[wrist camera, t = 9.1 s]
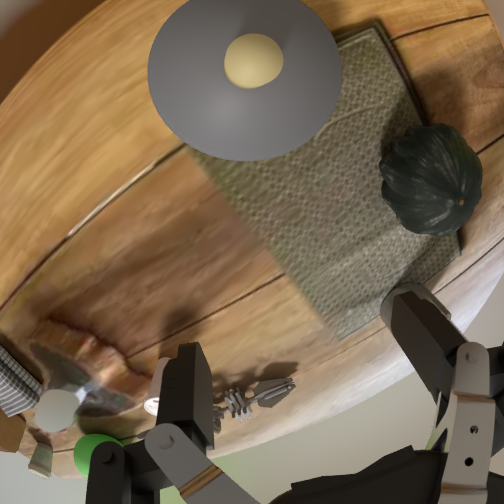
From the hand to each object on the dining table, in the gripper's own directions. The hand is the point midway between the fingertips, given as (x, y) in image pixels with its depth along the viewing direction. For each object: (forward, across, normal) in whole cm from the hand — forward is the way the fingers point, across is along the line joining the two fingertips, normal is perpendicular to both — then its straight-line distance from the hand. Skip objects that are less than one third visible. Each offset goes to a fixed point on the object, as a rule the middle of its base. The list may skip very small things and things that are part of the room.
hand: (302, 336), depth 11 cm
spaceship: (+28, +15, +40) cm, 52 cm away
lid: (+20, -2, -12) cm, 24 cm away
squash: (+28, -24, +2) cm, 37 cm away
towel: (+27, +62, +27) cm, 73 cm away
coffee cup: (+27, +81, +64) cm, 107 cm away
